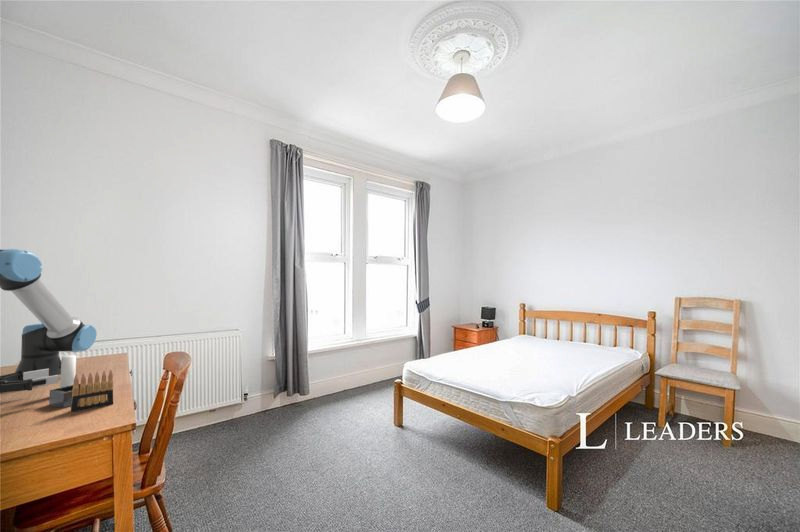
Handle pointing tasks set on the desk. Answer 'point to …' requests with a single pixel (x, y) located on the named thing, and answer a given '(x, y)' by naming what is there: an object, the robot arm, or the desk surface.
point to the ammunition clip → (92, 392)
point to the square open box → (62, 396)
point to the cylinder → (68, 370)
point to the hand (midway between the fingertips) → (53, 375)
